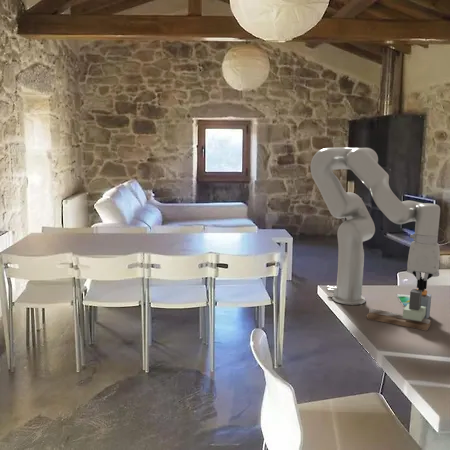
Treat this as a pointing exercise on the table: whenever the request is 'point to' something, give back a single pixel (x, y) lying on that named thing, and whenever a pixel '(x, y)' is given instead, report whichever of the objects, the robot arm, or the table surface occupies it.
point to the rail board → (397, 319)
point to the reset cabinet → (426, 304)
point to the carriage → (415, 306)
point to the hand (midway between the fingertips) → (421, 290)
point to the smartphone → (403, 299)
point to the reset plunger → (424, 293)
